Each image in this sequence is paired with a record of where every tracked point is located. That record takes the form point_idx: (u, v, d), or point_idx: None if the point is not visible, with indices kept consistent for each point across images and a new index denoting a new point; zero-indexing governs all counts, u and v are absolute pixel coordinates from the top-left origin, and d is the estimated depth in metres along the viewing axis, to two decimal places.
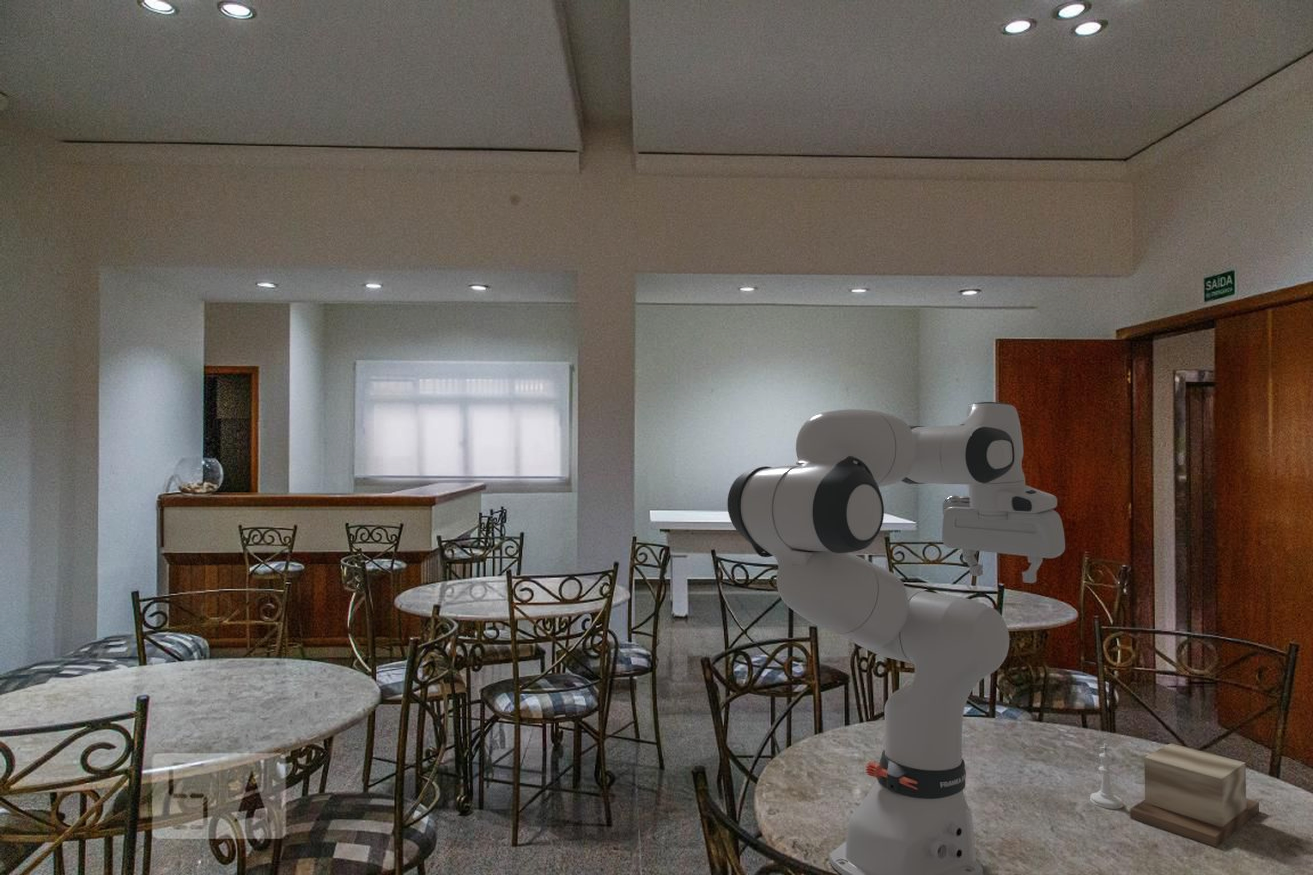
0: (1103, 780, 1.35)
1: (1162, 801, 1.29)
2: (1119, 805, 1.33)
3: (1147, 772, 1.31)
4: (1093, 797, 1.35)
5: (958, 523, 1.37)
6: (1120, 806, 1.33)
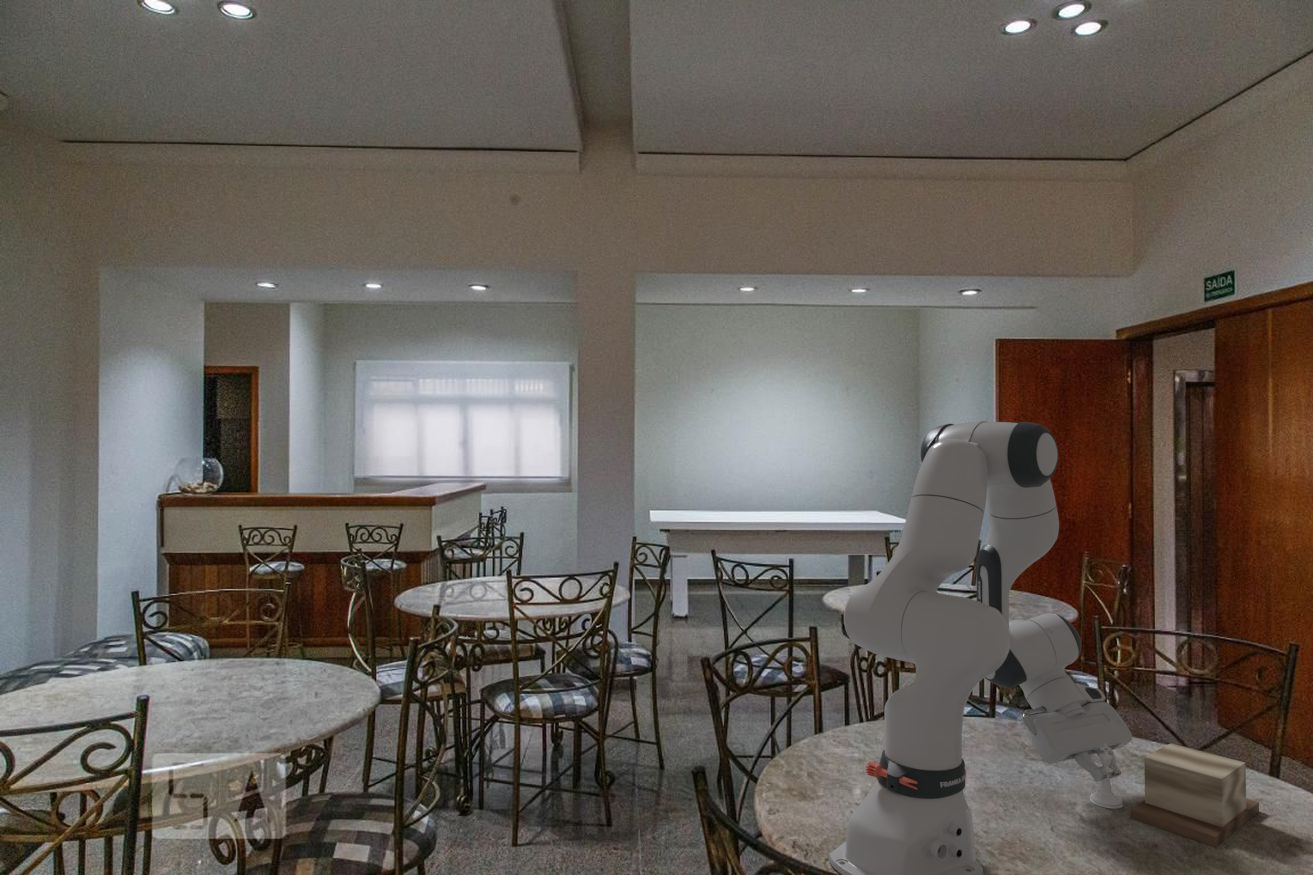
0: (1103, 780, 1.35)
1: (1162, 801, 1.29)
2: (1119, 805, 1.33)
3: (1147, 772, 1.31)
4: (1093, 797, 1.35)
5: (1054, 729, 1.37)
6: (1120, 806, 1.33)
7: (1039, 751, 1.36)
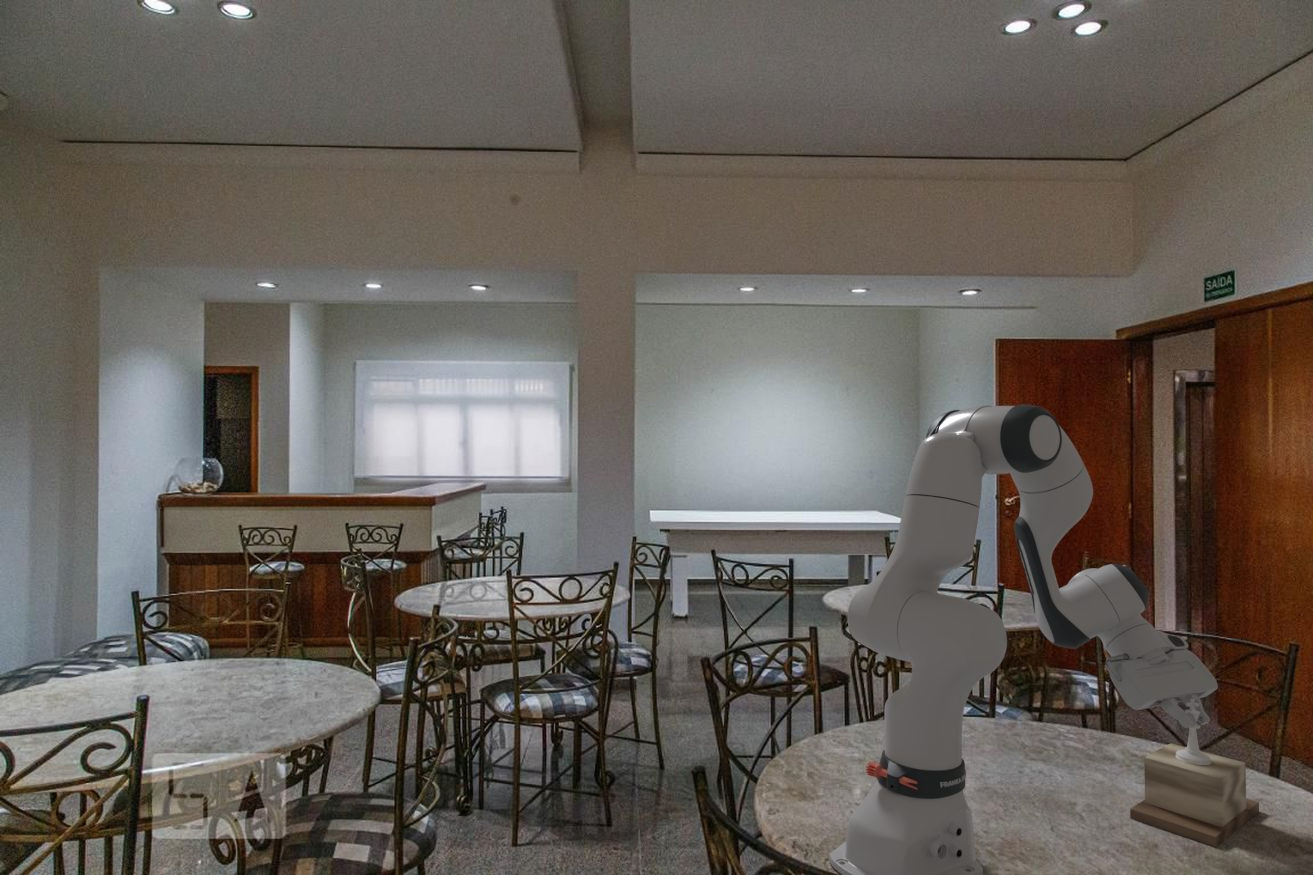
0: (1190, 736, 1.31)
1: (1162, 801, 1.29)
2: (1208, 761, 1.29)
3: (1147, 772, 1.31)
4: (1180, 754, 1.31)
5: (1139, 675, 1.32)
6: (1209, 763, 1.29)
7: (1125, 697, 1.31)
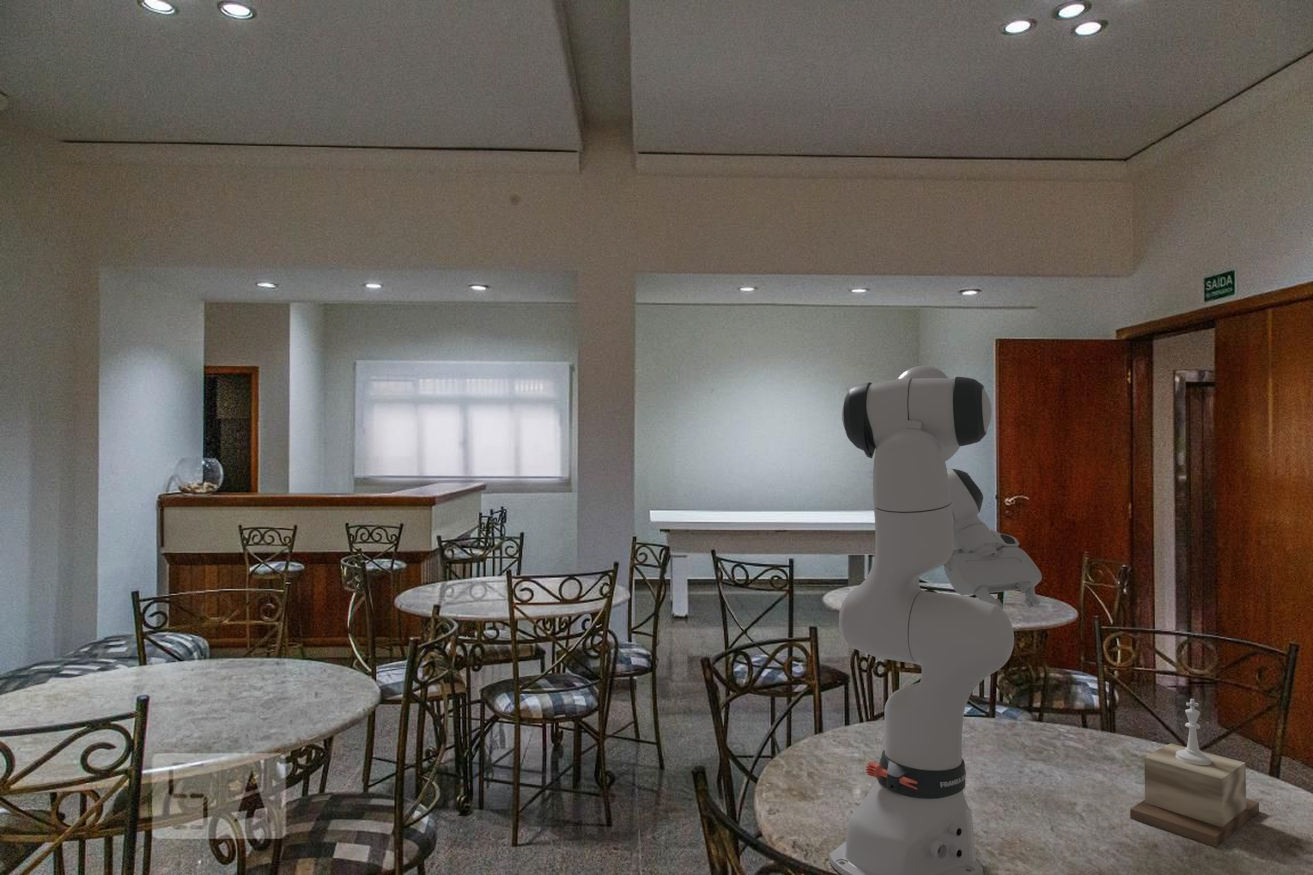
0: (1190, 736, 1.31)
1: (1162, 801, 1.29)
2: (1208, 761, 1.29)
3: (1147, 772, 1.31)
4: (1180, 754, 1.31)
5: (967, 565, 1.48)
6: (1209, 763, 1.29)
7: (953, 584, 1.47)
